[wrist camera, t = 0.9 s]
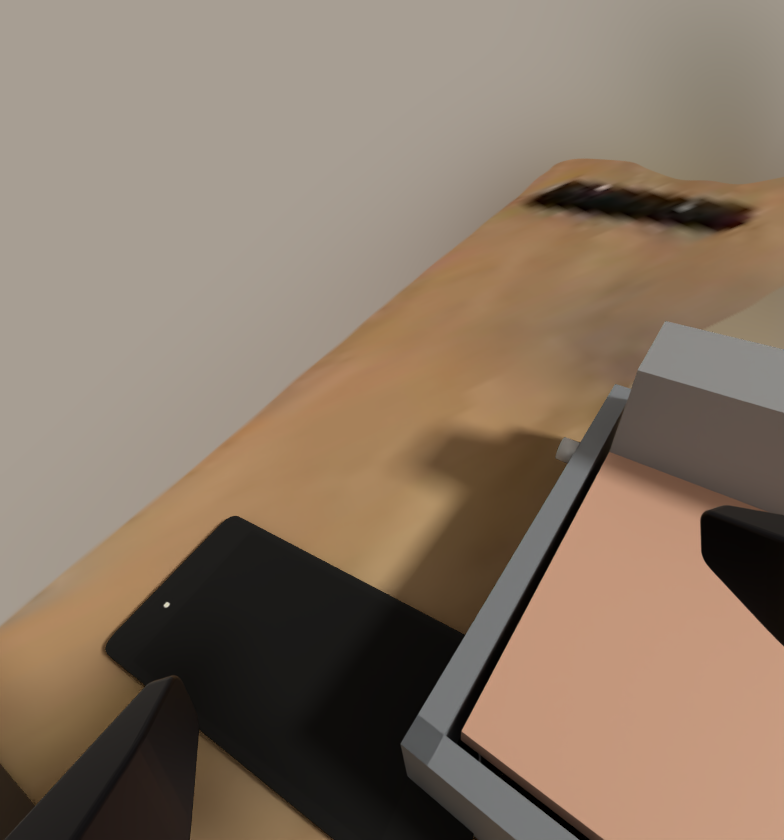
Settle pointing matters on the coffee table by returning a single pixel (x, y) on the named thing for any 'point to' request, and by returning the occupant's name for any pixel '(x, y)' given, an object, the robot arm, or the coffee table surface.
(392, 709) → the cell phone
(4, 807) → the phone stand
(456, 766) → the flap frame
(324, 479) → the coffee table surface
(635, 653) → the flap
